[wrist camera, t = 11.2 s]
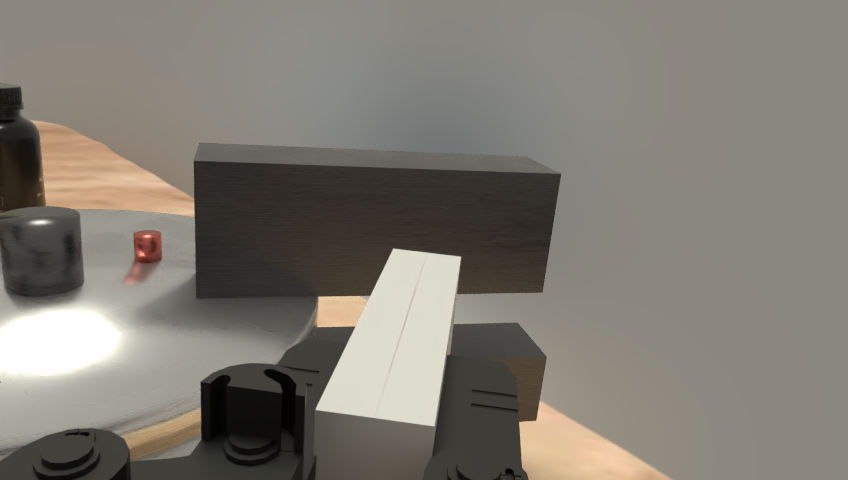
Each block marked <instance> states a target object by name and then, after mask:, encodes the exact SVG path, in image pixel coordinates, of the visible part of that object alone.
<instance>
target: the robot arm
mask: <svg viewBox="0 0 848 480" xmlns="http://www.w3.org/2000/svg"><path fill="white" fill-rule="evenodd" d="M460 263H461V257H459V256H451V255H442V254H434V253H426V252H417V251H409V250H401V249H393V250H392V252H391V254H390V257H389V259H388V261H387V263H386V265H385V267H384V269H383V271H382V273H381V275H380V277H379V279H378V281H377V283H376V285H375V287H374V290H373V292H372V294H371V296H370V298H369V300H368V302H367V304H366V306H365V308H364V310H363V312H362V314H361V316H360V318H359V321H358V323H357V325H356V327H355V329H354V331H353V333H352V335H351V337H350V339H349V341H348V343H347V344H346V343H338V342H330V341H323V340H315V339H305V340H303V341H301V342H300V343H298V344H296V345H294V346H293V347H291V348H289V349H288V350H286V352H285V353H284V355H283V356H282V358H281V359H280V361H279V362H278V364H277V365H274V364H266V363H246V364H240V365H233V366H229V367H226V368H224V369H221V370H218V371H216V372H213V373H212V374H210V375H209V376H208V377H206V378H205V379H204V380H202V381H201V382H200V385H201V440H200V442H199V443H198V445H197V446H196V447H195V449H194V450H193V451H192V453H191V454H190V455H188V456H183V457H176V458H169V459H156V460H142V461H130V450H129V448H128V446H127V443H126V441H125V439H124V438H122V437H120V436H119V435H117V434H115V433H113V432H112V431H107V430H101V429H95V428H82V429H79V428H78V429H69V430H65V431H61V432H57V433H53V434H50V435H46V436H44V437H42V438H40V439H38V440H36V441H33V442H31V443H29V444H27V445H25V446H23V447H22V448H20V449H19V450H17V451H15V452H14V453H12V454H10V455H9V456H7V457H6V458H4V459H2V460H1V461H0V480H529V479H528V476H527V474H526V472H525V471H524V470H523V469H522V463H521V447H520V430H519V414H518V399H517V381H516V377H515V376H514V375H513V373H512V372H511V371H510V370H509V368H508V367H507V366H506V365H505V363H504V362H499V361H491V360H484V359H476V358H469V357H461V356H453V355H450V350H451V341H452V332H453V323H454V314H455V306H456V296H457V289H458V280H459V271H460Z"/></svg>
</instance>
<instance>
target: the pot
mask: <svg viewBox="0 0 848 480" xmlns="http://www.w3.org/2000/svg"><path fill="white" fill-rule="evenodd" d="M354 329H355V327H317V330H316V335H315V340H323V341H330V342H338V343H346V344H347V343H348V341H349V339H350V337H351V335H352V333H353V331H354ZM450 355H453V356H461V357H469V358H476V359H484V360H491V361H499V362H504V363H505V365H506V366H507V367H508V368H509V370H510V371H511V372H512V373H513V375H514V376H515V377H516V381H517V399H518V414H519V422H522V421H536V418H537V412H538V406H539V400H540V394H541V387H542V381H543V376H544V370H545V363H546V358H547V357H546V355H545V354H544V353H543V352H542V351H541V350H540V348H539V347H538V346H537V345H536V344H535V343H534V341H533V340H532V339H531V338H530V337H529V336H528V334H527V333H526V332H525V331H524V330H523V329H522V327H521V326H520V325H519V324H518V323H490V324H489V323H488V324H453V332H452V341H451V350H450ZM200 440H201V434H200V435H198V436H195V437H193V438H191V439H188V440H186V441H184V442H181V443H179V444H177V445H174V446H172V447H170V448H167V449H164V450H161V451H159V452H156V453H153V454H150V455H147V456H144V457H141V458H138V459H135V460H132V461H142V460H156V459H169V458H176V457H183V456H188V455H190V454H191V453H192V451H193V450H194V449H195V447H196V446H197V445H198V443H199V442H200Z"/></svg>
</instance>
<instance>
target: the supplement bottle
mask: <svg viewBox="0 0 848 480" xmlns="http://www.w3.org/2000/svg"><path fill="white" fill-rule="evenodd" d="M22 109H24V105H23V102H22V94H21V87H20V86H17V85H12V84H3V83H0V213H4V212H7V211H10V210H15V209H20V208H27V207H42V206H46V201H45V190H44V179H43V167H42V156H41V145H40V136H39V131H38V129H37V127H36V126H35V125H34V124H33V123H32V122H31V121H29V120H28V119H26V118H24V117H22V116H21V112H20V110H22Z"/></svg>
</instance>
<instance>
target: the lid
mask: <svg viewBox="0 0 848 480" xmlns="http://www.w3.org/2000/svg"><path fill="white" fill-rule="evenodd" d="M560 177H561V174H560V173H558V172H556V171H554V170H552V169H550V168H548V167H546V166H544V165H542V164H540V163H538V162H536V161H534V160H532V159H530V158H528V157H519V156H495V155H472V154H449V153H424V152H401V151H378V150H356V149H333V148H310V147H287V146H286V147H285V146H263V145H239V144H217V143H199V146H198V149H197V152H196V155H195V159H194V201H195V217H189V216H182V215H175V214H166V213H157V212H144V211H130V210H103V209H69V208H63V207H50V206H42V207H27V208H20V209H15V210H10V211H7V212H4V213H0V461H1V460H2V459H4V458H6V457H7V456H9V455H10V454H12V453H14V452H15V451H17V450H19V449H20V448H22V447H23V446H25V445H27V444H29V443H31V442H33V441H36V440H38V439H40V438H42V437H44V436H46V435H50V434H53V433H57V432H61V431H65V430H69V429H78V428H79V429H82V428H95V429H101V430H107V431H112V432H113V433H115V434H117V435H119V436H120V437H122V438H124V439H125V441H126V443H127V446H128V448H129V450H130V461H132V460H135V459H138V458H141V457H144V456H147V455H150V454H153V453H156V452H159V451H161V450H164V449H167V448H170V447H172V446H174V445H177V444H179V443H181V442H184V441H186V440H188V439H191V438H193V437H195V436H198V435H200V434H201V385H200V382H201V381H202V380H204V379H205V378H206V377H208V376H209V375H210V374H212V373H213V372H216V371H218V370H221V369H224V368H226V367H229V366H233V365H240V364H246V363H266V364H274V365H277V364H278V362H279V361H280V359H281V358H282V356H283V355H284V353H285V352H286V350H288V349H289V348H291V347H293V346H294V345H296V344H298V343H300V342H301V341H303V340H305V339H315V335H316V330H317V318H318V297H319V296H371V294H372V292H373V290H374V287H375V285H376V283H377V281H378V279H379V277H380V275H381V273H382V271H383V269H384V267H385V265H386V263H387V261H388V259H389V257H390V254H391V252H392V250H393V249H401V250H409V251H417V252H426V253H434V254H442V255H451V256H459V257H461V263H460V271H459V280H458V289H457V294H476V293H477V294H481V293H538V292H543V285H544V279H545V273H546V266H547V260H548V254H549V247H550V240H551V234H552V227H553V221H554V215H555V209H556V203H557V196H558V190H559V184H560Z"/></svg>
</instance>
